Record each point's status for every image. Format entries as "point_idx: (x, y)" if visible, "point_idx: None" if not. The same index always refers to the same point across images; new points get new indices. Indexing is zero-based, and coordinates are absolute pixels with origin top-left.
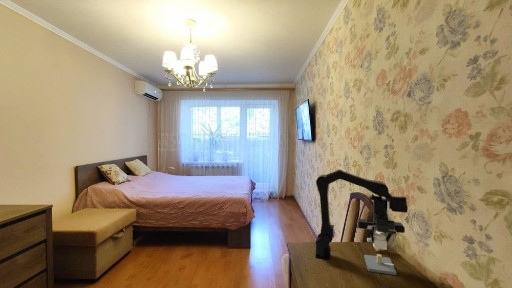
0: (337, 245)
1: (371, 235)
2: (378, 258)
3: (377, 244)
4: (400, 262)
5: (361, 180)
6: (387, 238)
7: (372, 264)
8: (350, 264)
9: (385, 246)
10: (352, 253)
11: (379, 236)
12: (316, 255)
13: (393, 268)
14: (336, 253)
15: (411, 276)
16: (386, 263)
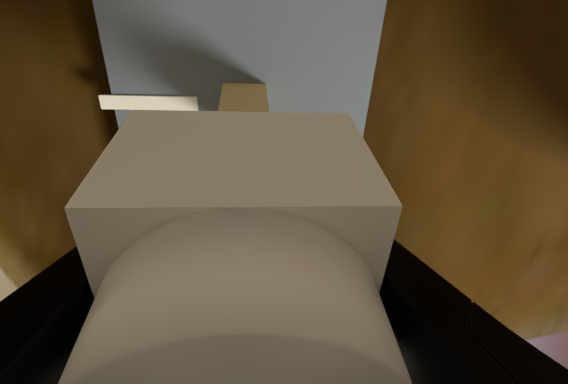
0: (487, 311)
1: (490, 335)
2: (257, 104)
3: (309, 149)
4: (52, 200)
5: None
6: (33, 322)
7: (322, 48)
8: (520, 40)
9: (141, 137)
10: (420, 237)
11: (282, 310)
12: None
13: (107, 14)
14: (553, 205)
15: None
16: (174, 107)
